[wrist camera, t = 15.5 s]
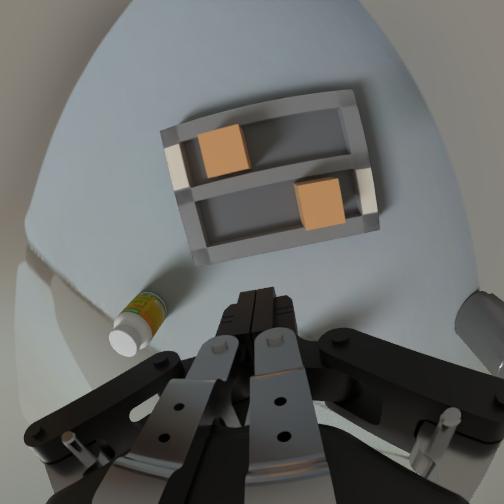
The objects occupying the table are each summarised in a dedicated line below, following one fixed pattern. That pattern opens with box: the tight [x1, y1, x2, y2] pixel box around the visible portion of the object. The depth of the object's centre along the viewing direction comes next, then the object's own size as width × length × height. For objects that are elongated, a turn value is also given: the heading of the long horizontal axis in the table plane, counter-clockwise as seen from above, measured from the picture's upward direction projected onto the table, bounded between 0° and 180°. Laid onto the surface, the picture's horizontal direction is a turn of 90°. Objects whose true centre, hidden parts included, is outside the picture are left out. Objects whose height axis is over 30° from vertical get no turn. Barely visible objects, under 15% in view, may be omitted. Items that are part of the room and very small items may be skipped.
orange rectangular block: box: [293, 177, 346, 231], centre depth 28 cm, size 4×4×5 cm
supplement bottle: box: [109, 292, 167, 357], centre depth 34 cm, size 5×5×10 cm
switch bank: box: [160, 89, 380, 267], centre depth 30 cm, size 22×16×4 cm
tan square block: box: [198, 124, 252, 178], centre depth 27 cm, size 4×4×5 cm
